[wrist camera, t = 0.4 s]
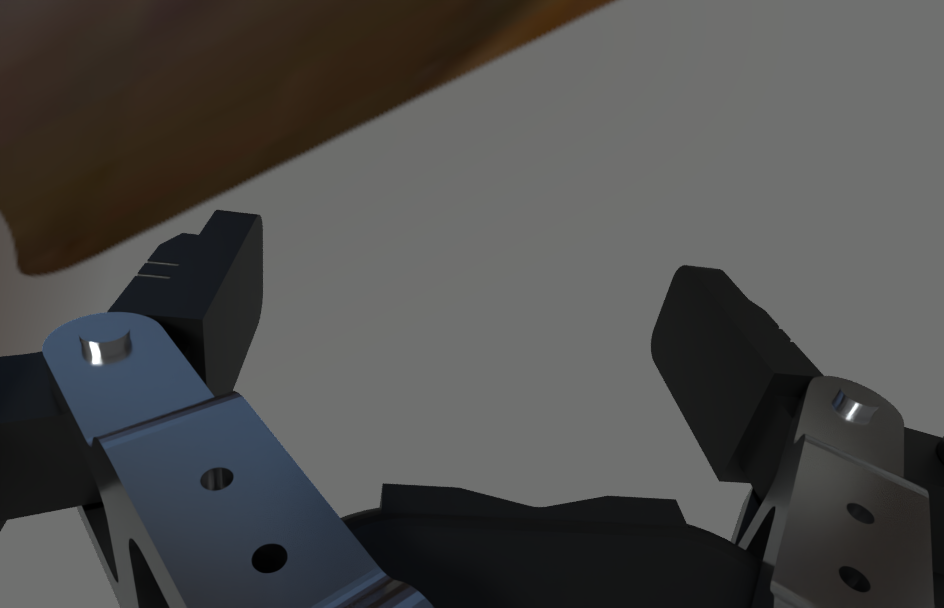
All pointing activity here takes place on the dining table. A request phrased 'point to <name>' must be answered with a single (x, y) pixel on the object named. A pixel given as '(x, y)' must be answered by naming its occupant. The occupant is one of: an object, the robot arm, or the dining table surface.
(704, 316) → the robot arm
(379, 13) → the dining table surface
